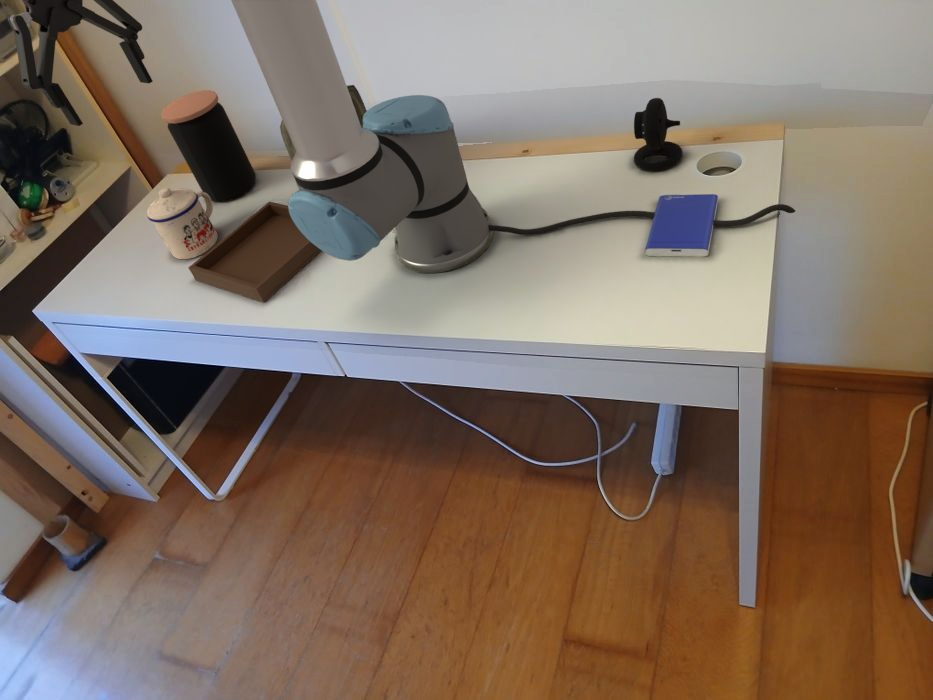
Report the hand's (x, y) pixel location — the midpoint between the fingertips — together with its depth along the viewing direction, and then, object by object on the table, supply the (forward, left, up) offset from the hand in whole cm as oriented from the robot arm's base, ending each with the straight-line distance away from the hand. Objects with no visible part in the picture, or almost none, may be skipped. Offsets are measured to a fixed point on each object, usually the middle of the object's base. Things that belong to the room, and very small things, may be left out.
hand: (112, 102), depth 121 cm
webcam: (-71, -42, -27) cm, 87 cm away
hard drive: (-82, -26, -27) cm, 90 cm away
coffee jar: (+6, -15, -27) cm, 32 cm away
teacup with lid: (-2, 0, -27) cm, 27 cm away
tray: (-20, -1, -27) cm, 34 cm away
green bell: (-21, -21, -27) cm, 40 cm away
